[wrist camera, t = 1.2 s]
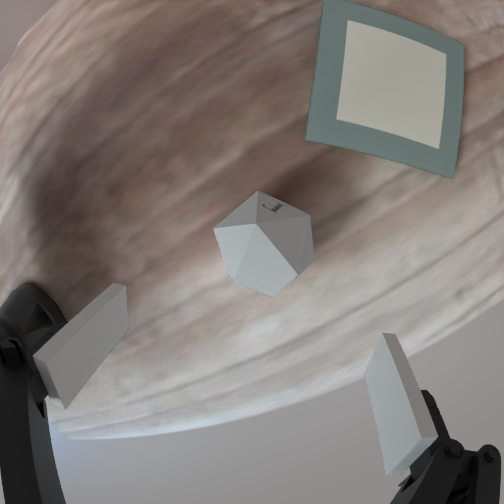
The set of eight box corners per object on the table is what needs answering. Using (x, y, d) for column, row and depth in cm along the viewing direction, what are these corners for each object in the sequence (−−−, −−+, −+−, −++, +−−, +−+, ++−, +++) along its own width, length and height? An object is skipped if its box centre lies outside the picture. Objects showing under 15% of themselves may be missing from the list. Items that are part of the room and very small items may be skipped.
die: (328, 243, 31) (333, 199, 22) (285, 316, 30) (273, 303, 20) (261, 209, 34) (241, 160, 24) (218, 276, 32) (181, 247, 23)
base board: (304, 140, 27) (305, 139, 25) (322, 5, 22) (324, -4, 20) (444, 176, 26) (453, 179, 24) (455, 49, 21) (464, 45, 19)
